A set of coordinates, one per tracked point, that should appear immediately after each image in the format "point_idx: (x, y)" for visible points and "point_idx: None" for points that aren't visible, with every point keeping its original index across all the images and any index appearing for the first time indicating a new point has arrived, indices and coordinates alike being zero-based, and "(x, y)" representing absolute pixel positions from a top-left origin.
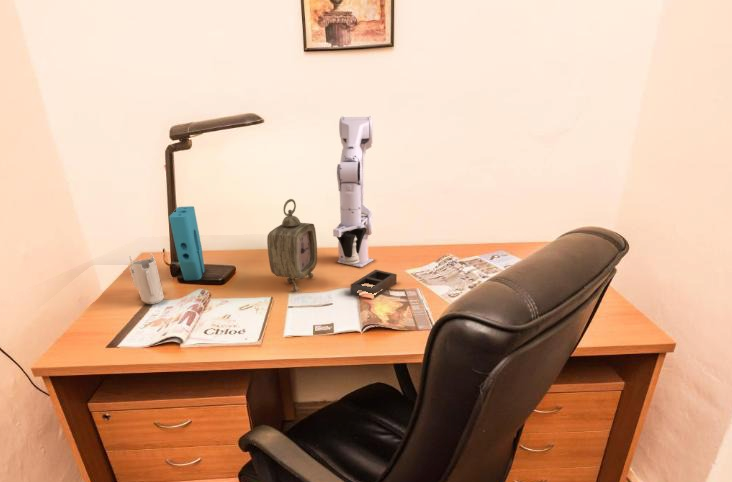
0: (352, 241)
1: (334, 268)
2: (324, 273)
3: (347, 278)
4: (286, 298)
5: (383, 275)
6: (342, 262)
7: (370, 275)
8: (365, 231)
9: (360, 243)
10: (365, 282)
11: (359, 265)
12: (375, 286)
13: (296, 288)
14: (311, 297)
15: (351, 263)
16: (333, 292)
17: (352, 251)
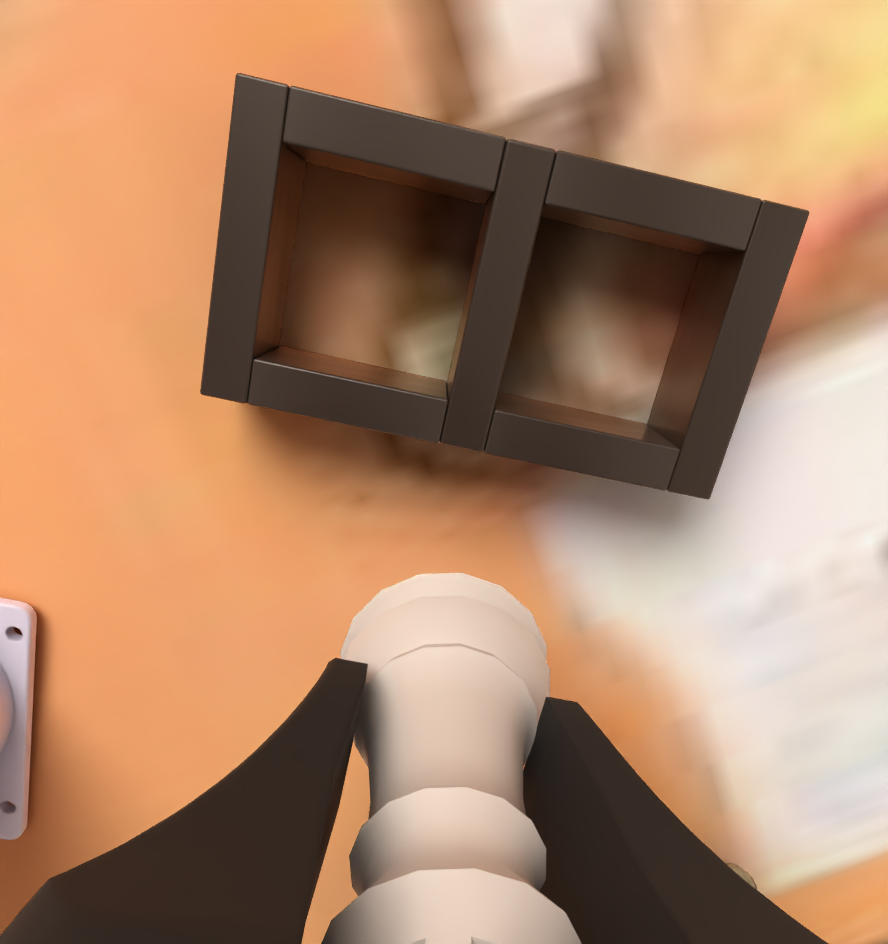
0: (712, 905)
1: (162, 801)
2: None
3: (332, 624)
4: (851, 874)
5: (274, 261)
6: (23, 792)
7: (392, 388)
8: (115, 895)
9: (308, 741)
10: (498, 401)
11: (9, 632)
12: (707, 212)
13: (752, 886)
14: (801, 732)
15: (543, 639)
16: (667, 619)
17: (511, 745)
